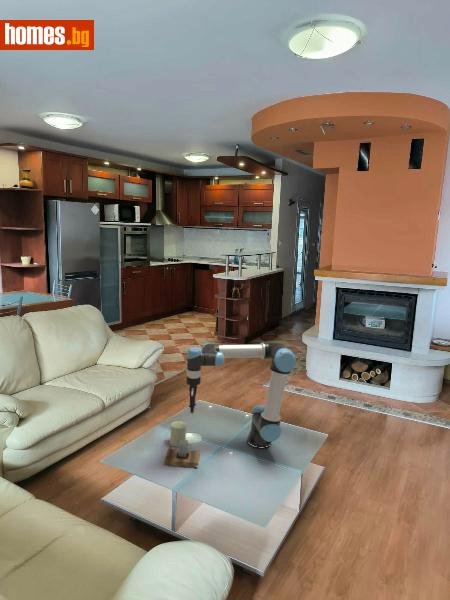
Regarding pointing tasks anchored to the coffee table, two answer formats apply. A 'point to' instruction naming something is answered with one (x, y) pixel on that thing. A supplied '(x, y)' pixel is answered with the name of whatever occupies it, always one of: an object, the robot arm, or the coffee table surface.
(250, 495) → the coffee table surface
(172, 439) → the can
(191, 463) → the jig
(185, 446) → the grey square block
